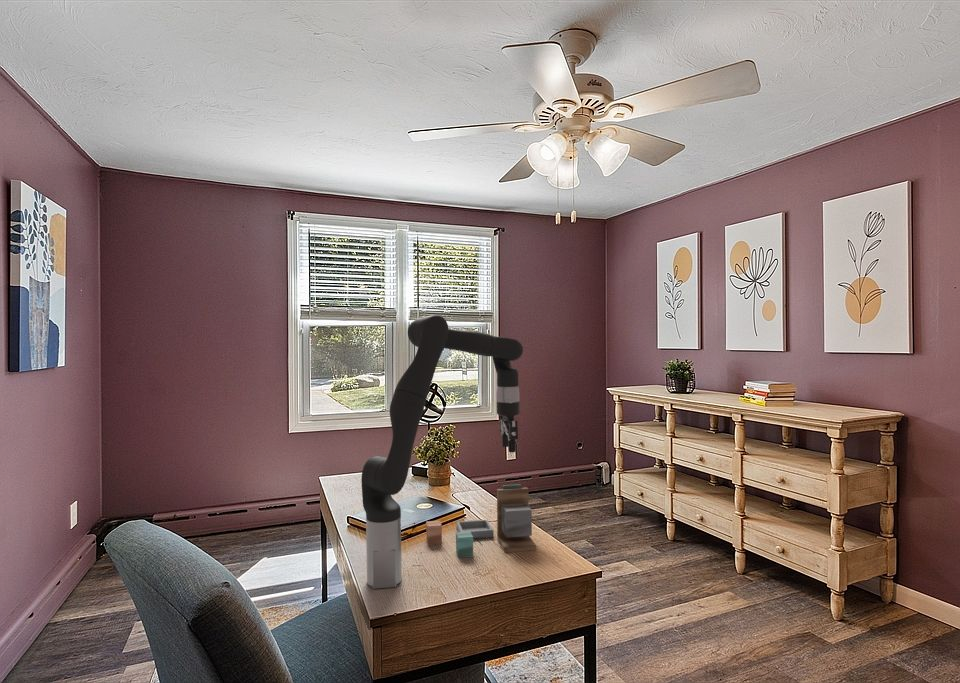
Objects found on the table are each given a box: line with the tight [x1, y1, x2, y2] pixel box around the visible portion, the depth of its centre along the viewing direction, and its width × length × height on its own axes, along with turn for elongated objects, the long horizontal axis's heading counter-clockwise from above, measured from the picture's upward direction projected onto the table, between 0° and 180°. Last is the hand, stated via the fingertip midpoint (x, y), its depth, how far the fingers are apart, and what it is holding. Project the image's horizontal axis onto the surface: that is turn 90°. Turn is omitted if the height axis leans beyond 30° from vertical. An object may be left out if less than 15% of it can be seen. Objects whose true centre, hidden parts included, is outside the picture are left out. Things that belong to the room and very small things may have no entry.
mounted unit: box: [496, 483, 537, 553], centre depth 178 cm, size 10×10×18 cm
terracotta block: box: [425, 520, 443, 546], centre depth 182 cm, size 4×4×6 cm
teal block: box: [455, 531, 474, 559], centre depth 171 cm, size 4×4×6 cm
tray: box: [456, 519, 494, 540], centre depth 189 cm, size 11×11×2 cm
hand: (508, 449), depth 186 cm, fingers open, 8 cm apart
